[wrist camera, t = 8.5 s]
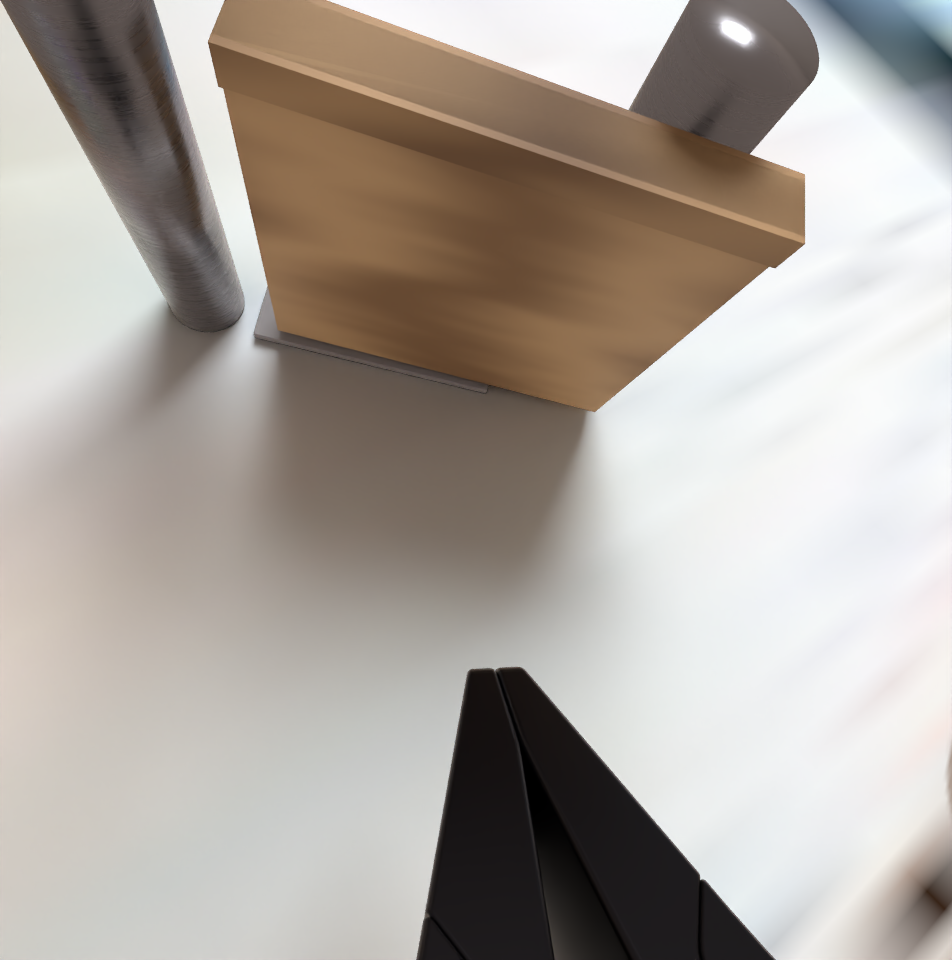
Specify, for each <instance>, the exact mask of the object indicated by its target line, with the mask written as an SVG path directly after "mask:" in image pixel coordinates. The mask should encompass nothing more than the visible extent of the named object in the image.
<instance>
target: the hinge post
mask: <svg viewBox="0 0 952 960" xmlns="http://www.w3.org/2000/svg"><path fill="white" fill-rule="evenodd" d="M1 2H2V4H3V6H4V7H5V9H6V11H7V13H8V15H9V16H10V18H11V20H12V22H13V24H14V26H15V27H16V29H17V31H18V33H19V35H20V36H21V38H22V40H23V42H24V44H25V45H26V47H27V49H28V51H29V53H30V54H31V56H32V58H33V60H34V62H35V64H36V65H37V67H38V69H39V71H40V73H41V74H42V76H43V78H44V80H45V82H46V83H47V85H48V87H49V89H50V91H51V93H52V94H53V96H54V98H55V100H56V102H57V103H58V105H59V107H60V109H61V111H62V112H63V114H64V116H65V118H66V120H67V122H68V123H69V125H70V127H71V129H72V131H73V132H74V134H75V136H76V138H77V140H78V141H79V143H80V145H81V147H82V149H83V151H84V152H85V154H86V156H87V158H88V160H89V161H90V163H91V165H92V167H93V169H94V170H95V172H96V174H97V176H98V178H99V179H100V181H101V183H102V185H103V187H104V189H105V190H106V192H107V194H108V196H109V198H110V199H111V201H112V203H113V205H114V207H115V208H116V210H117V212H118V214H119V216H120V218H121V219H122V221H123V223H124V225H125V227H126V228H127V230H128V232H129V234H130V236H131V237H132V239H133V241H134V243H135V245H136V247H137V248H138V250H139V252H140V254H141V256H142V257H143V259H144V261H145V263H146V265H147V266H148V268H149V270H150V272H151V274H152V276H153V277H154V279H155V281H156V283H157V285H158V286H159V288H160V290H161V292H162V294H163V295H164V297H165V299H166V301H167V303H168V305H169V306H170V308H171V310H172V312H173V314H174V315H175V317H176V318H177V319H178V320H179V321H180V322H181V323H182V324H184V325H185V326H187V327H189V328H191V329H194V330H197V331H202V332H214V331H219V330H222V329H225V328H227V327H229V326H231V325H232V324H234V323H235V322H236V321H237V320H238V318H239V317H240V316H241V314H242V312H243V309H244V295H243V291H242V288H241V285H240V282H239V278H238V275H237V272H236V268H235V265H234V262H233V259H232V255H231V252H230V249H229V246H228V242H227V239H226V236H225V233H224V229H223V226H222V223H221V219H220V216H219V213H218V210H217V206H216V203H215V200H214V197H213V193H212V190H211V187H210V184H209V180H208V177H207V174H206V170H205V167H204V164H203V161H202V157H201V154H200V151H199V148H198V144H197V141H196V138H195V134H194V131H193V128H192V125H191V121H190V118H189V115H188V112H187V108H186V105H185V102H184V98H183V95H182V92H181V89H180V85H179V82H178V79H177V76H176V72H175V69H174V66H173V63H172V59H171V56H170V53H169V49H168V46H167V43H166V40H165V36H164V33H163V30H162V27H161V23H160V20H159V17H158V14H157V10H156V7H155V4H154V0H1Z"/></svg>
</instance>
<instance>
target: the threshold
mask: <svg viewBox="0 0 952 960" xmlns="http://www.w3.org/2000/svg"><path fill="white" fill-rule="evenodd" d="M254 336H255V338H259V339H263V340H267V341H271V342H276V343H280V344H284V345H288V346H292V347H296V348H300V349H304V350H309V351H313V352H317V353H321V354H325V355H329V356H333V357H337V358H341V359H346V360H350V361H354V362H358V363H362V364H366V365H370V366H374V367H379V368H383V369H387V370H391V371H395V372H399V373H403V374H407V375H412V376H416V377H420V378H424V379H428V380H432V381H436V382H440V383H444V384H449V385H453V386H457V387H461V388H465V389H469V390H473V391H477V392H482V393H486V392H487V390H488V384H484V383H481V382H477V381H473V380H469V379H465V378H461V377H457V376H453V375H450V374H446V373H442V372H438V371H434V370H430V369H426V368H423V367H419V366H415V365H411V364H407V363H403V362H399V361H395V360H392V359H388V358H384V357H380V356H376V355H372V354H368V353H365V352H361V351H357V350H353V349H349V348H345V347H341V346H337V345H334V344H330V343H326V342H322V341H318V340H314V339H310V338H307V337H303V336H299V335H295V334H291V333H287V332H283V331H279V330H278V329H277V324H276V320H275V316H274V311H273V307H272V302H271V298H270V293H269V289H268V287H267V290H266V293H265V297H264V300H263V303H262V307H261V310H260V313H259V317H258V320H257V323H256V327H255V330H254Z"/></svg>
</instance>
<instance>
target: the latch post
mask: <svg viewBox="0 0 952 960" xmlns="http://www.w3.org/2000/svg"><path fill="white" fill-rule="evenodd" d="M818 67H819V53H818V48H817V44H816V42H815V39H814V36H813V34H812V32H811V30H810V28H809V27H808V25H807V23H806V22H805V21H804V19H803V18H802V16H801V15H800V14H799V13H798V12H797V11H796V9H795V8H794V7H793V6H792V5H791V4H790V3H789V2H787V1H786V0H690V1H689V2H688V4H687V6H686V8H685V10H684V11H683V13H682V15H681V17H680V19H679V20H678V22H677V24H676V26H675V27H674V29H673V31H672V33H671V35H670V36H669V38H668V40H667V42H666V44H665V45H664V47H663V49H662V51H661V53H660V54H659V56H658V58H657V60H656V62H655V63H654V65H653V67H652V69H651V71H650V72H649V74H648V76H647V78H646V80H645V81H644V83H643V85H642V87H641V88H640V90H639V92H638V94H637V96H636V97H635V99H634V101H633V103H632V105H631V106H630V108H629V111H632V112H634V113H637V114H640V115H643V116H645V117H648V118H651V119H654V120H656V121H659V122H662V123H665V124H667V125H670V126H673V127H676V128H678V129H681V130H684V131H687V132H689V133H692V134H695V135H698V136H700V137H703V138H706V139H709V140H711V141H713V142H717V143H720V144H722V145H725V146H728V147H731V148H733V149H736V150H739V151H742V152H744V153H747V154H750V153H751V152H752V151H753V150H754V148H755V147H756V146H757V145H758V144H759V143H760V141H761V140H762V139H763V138H764V137H765V136H766V135H767V133H768V132H769V131H770V130H771V129H772V128H773V127H774V125H775V124H776V123H777V122H778V121H779V120H780V118H781V117H782V116H783V115H784V114H785V113H786V112H787V110H788V109H789V108H790V107H791V106H792V105H793V104H794V102H795V101H796V100H797V99H798V98H799V97H800V95H801V94H802V93H803V92H804V91H805V90H806V89H807V87H808V86H809V85H810V84H811V83H812V81H813V80H814V78H815V76H816V74H817V71H818Z"/></svg>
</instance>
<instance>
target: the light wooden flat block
mask: <svg viewBox="0 0 952 960" xmlns="http://www.w3.org/2000/svg"><path fill="white" fill-rule="evenodd" d="M208 44H209V49H210V53H211V57H212V62H213V66H214V70H215V74H216V79H217V83H218V87H221V88H223V89H224V94H225V98H226V103H227V107H228V112H229V116H230V120H231V125H232V129H233V134H234V138H235V143H236V147H237V151H238V156H239V160H240V165H241V169H242V174H243V178H244V183H245V187H246V191H247V196H248V200H249V205H250V209H251V214H252V218H253V222H254V227H255V231H256V236H257V240H258V245H259V249H260V253H261V258H262V262H263V267H264V271H265V276H266V280H267V285H268V289H269V293H270V298H271V302H272V307H273V311H274V316H275V320H276V324H277V329H278V330H279V331H283V332H287V333H291V334H295V335H299V336H303V337H307V338H310V339H314V340H318V341H322V342H326V343H330V344H334V345H337V346H341V347H345V348H349V349H353V350H357V351H361V352H365V353H368V354H372V355H376V356H380V357H384V358H388V359H392V360H395V361H399V362H403V363H407V364H411V365H415V366H419V367H423V368H426V369H430V370H434V371H438V372H442V373H446V374H450V375H453V376H457V377H461V378H465V379H469V380H473V381H477V382H481V383H484V384H488V385H492V386H496V387H500V388H504V389H508V390H511V391H515V392H519V393H523V394H527V395H531V396H535V397H539V398H542V399H546V400H550V401H554V402H558V403H562V404H566V405H569V406H573V407H577V408H581V409H585V410H589V411H593V412H595V411H597V410H598V409H599V408H600V407H601V406H603V405H604V404H605V403H606V402H607V401H609V400H610V399H611V398H612V397H613V396H615V395H616V394H617V393H618V392H619V391H621V390H622V389H623V388H624V387H625V386H627V385H628V384H629V383H630V382H631V381H633V380H634V379H635V378H636V377H637V376H639V375H640V374H641V373H642V372H643V371H645V370H646V369H647V368H648V367H649V366H651V365H652V364H653V363H654V362H655V361H657V360H658V359H659V358H660V357H661V356H663V355H664V354H665V353H666V352H667V351H669V350H670V349H671V348H672V347H673V346H675V345H676V344H677V343H678V342H679V341H681V340H682V339H683V338H684V337H685V336H687V335H688V334H689V333H690V332H691V331H693V330H694V329H695V328H696V327H697V326H699V325H700V324H701V323H702V322H703V321H704V320H706V319H707V318H708V317H709V316H710V315H712V314H713V313H714V312H715V311H716V310H718V309H719V308H720V307H721V306H722V305H724V304H725V303H726V302H727V301H728V300H730V299H731V298H732V297H733V296H734V295H736V294H737V293H738V292H739V291H740V290H742V289H743V288H744V287H745V286H746V285H748V284H749V283H750V282H751V281H752V280H754V279H755V278H756V277H757V276H758V275H760V274H761V273H762V272H763V271H764V270H766V269H767V268H768V267H772V268H776V267H777V266H779V265H780V264H781V263H782V262H784V261H785V260H786V259H787V258H788V257H790V256H791V255H792V254H793V253H795V252H796V251H797V250H798V249H799V248H801V247H802V246H803V245H804V244H805V174H802V173H799V172H797V171H794V170H791V169H788V168H786V167H783V166H780V165H777V164H775V163H772V162H769V161H766V160H764V159H761V158H758V157H755V156H753V155H750V154H747V153H744V152H742V151H739V150H736V149H733V148H731V147H728V146H725V145H722V144H720V143H717V142H713V141H711V140H709V139H706V138H703V137H700V136H698V135H695V134H692V133H689V132H687V131H684V130H681V129H678V128H676V127H673V126H670V125H667V124H665V123H662V122H659V121H656V120H654V119H651V118H648V117H645V116H643V115H640V114H637V113H634V112H632V111H629V110H626V109H623V108H621V107H618V106H615V105H612V104H610V103H607V102H604V101H601V100H599V99H596V98H593V97H590V96H588V95H585V94H582V93H580V92H577V91H574V90H571V89H569V88H566V87H563V86H560V85H558V84H555V83H552V82H549V81H547V80H544V79H541V78H538V77H536V76H533V75H530V74H527V73H525V72H522V71H519V70H516V69H514V68H511V67H508V66H505V65H503V64H500V63H497V62H494V61H492V60H489V59H486V58H483V57H481V56H478V55H475V54H472V53H470V52H467V51H464V50H461V49H459V48H456V47H453V46H450V45H448V44H445V43H442V42H439V41H437V40H434V39H431V38H428V37H426V36H423V35H420V34H417V33H415V32H412V31H409V30H406V29H404V28H401V27H398V26H395V25H393V24H390V23H387V22H384V21H382V20H379V19H376V18H373V17H371V16H368V15H365V14H362V13H360V12H357V11H354V10H351V9H349V8H346V7H343V6H340V5H338V4H335V3H332V2H329V1H327V0H225V1H224V4H223V6H222V8H221V11H220V13H219V16H218V18H217V21H216V23H215V25H214V28H213V30H212V33H211V35H210V38H209V40H208Z"/></svg>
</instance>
